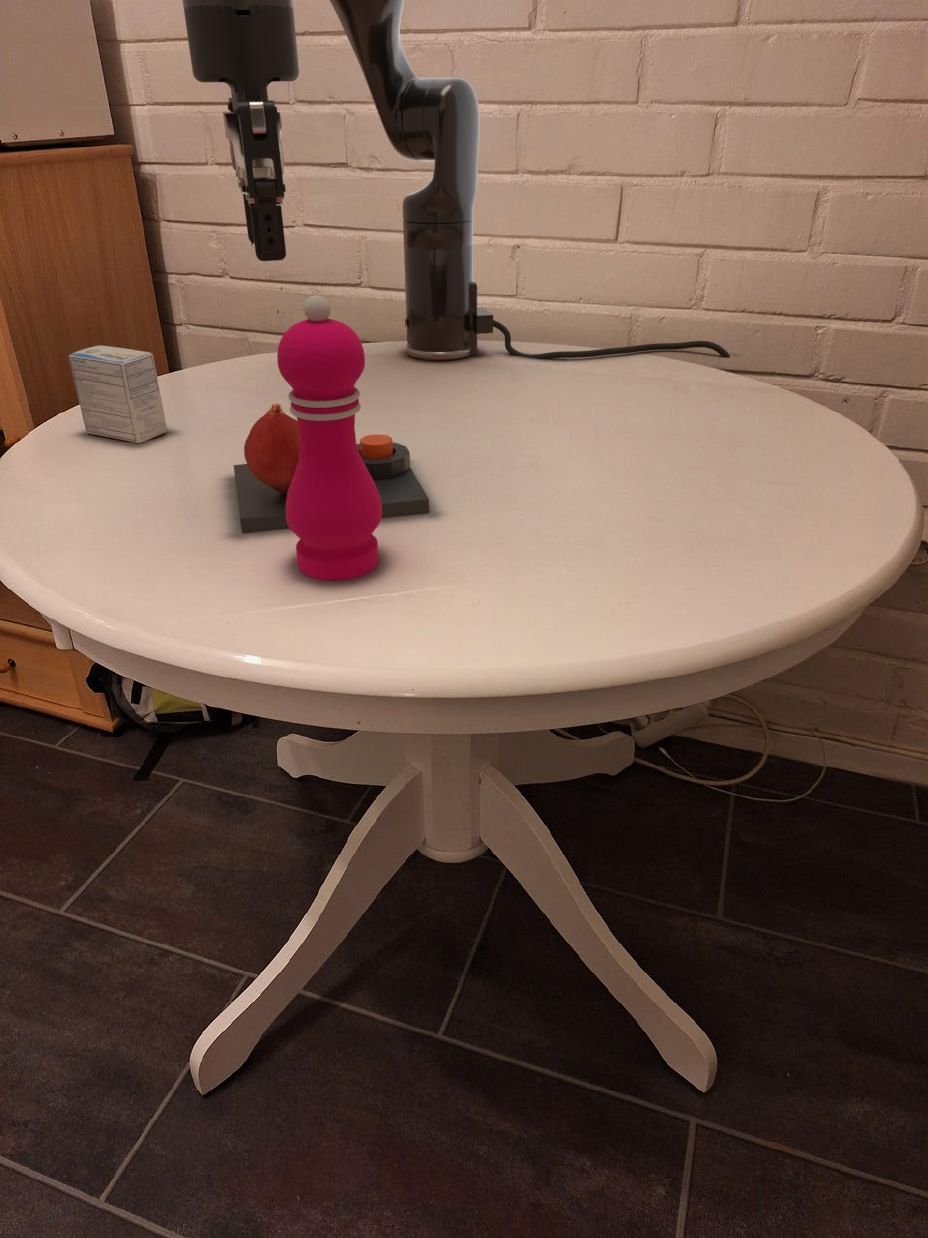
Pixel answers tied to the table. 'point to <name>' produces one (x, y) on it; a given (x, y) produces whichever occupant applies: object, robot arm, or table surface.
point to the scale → (390, 474)
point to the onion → (273, 449)
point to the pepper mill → (328, 449)
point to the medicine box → (118, 393)
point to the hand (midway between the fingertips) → (266, 250)
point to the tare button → (376, 446)
